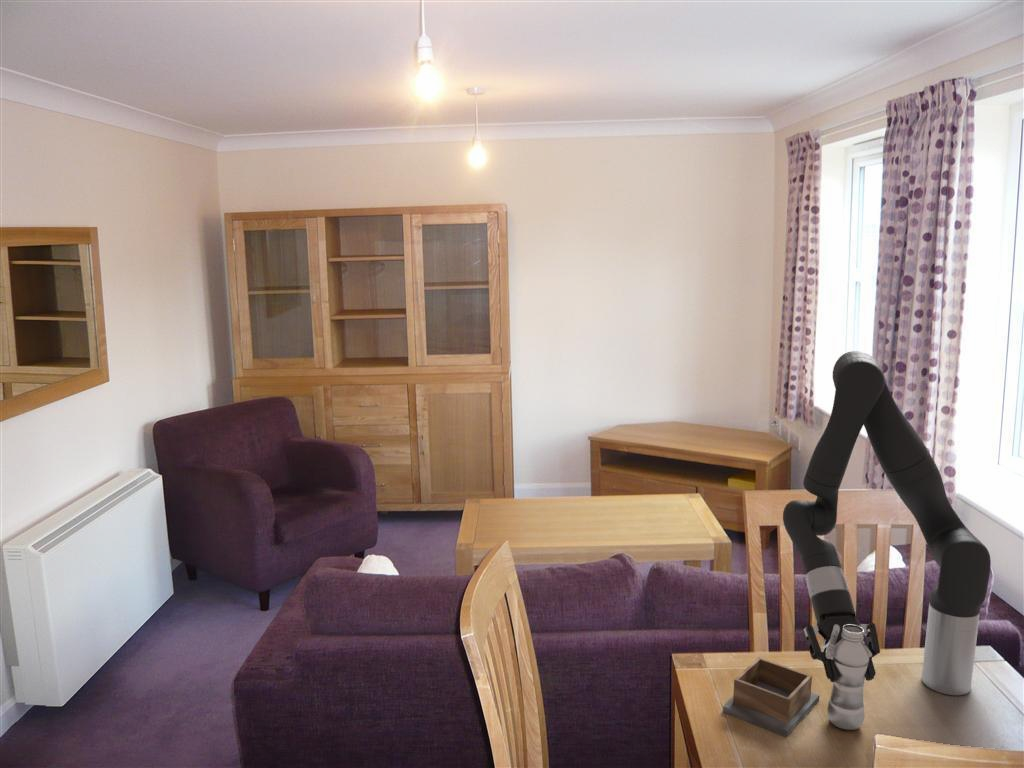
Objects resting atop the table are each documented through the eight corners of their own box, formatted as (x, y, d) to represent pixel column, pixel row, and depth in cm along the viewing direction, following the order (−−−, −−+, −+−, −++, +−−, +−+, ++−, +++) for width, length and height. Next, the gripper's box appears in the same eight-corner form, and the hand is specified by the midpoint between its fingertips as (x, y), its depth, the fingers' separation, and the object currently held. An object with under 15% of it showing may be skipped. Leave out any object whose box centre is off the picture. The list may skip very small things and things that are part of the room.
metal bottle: (866, 736, 162) (876, 638, 158) (828, 732, 164) (837, 635, 160) (860, 717, 169) (869, 622, 165) (823, 713, 170) (831, 619, 166)
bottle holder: (757, 678, 182) (759, 651, 181) (818, 700, 174) (821, 672, 173) (722, 711, 170) (724, 682, 169) (786, 737, 162) (788, 707, 161)
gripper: (800, 588, 168) (822, 676, 159) (872, 586, 169) (898, 673, 160) (788, 602, 174) (808, 687, 165) (857, 599, 175) (881, 684, 166)
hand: (852, 680), depth 162 cm, fingers closed on metal bottle, 6 cm apart
